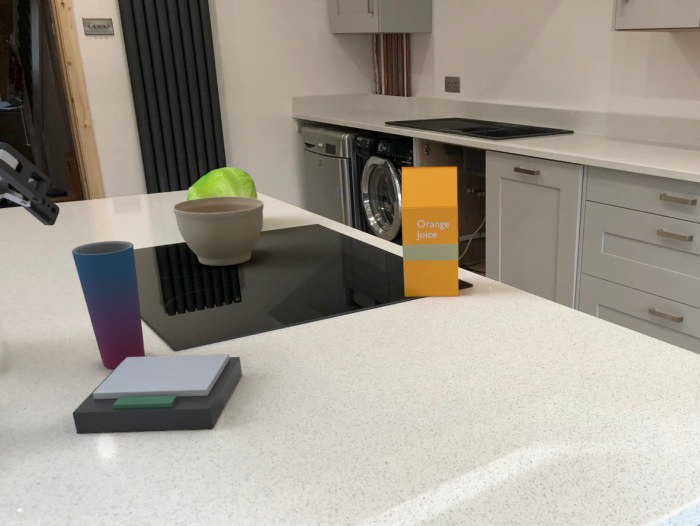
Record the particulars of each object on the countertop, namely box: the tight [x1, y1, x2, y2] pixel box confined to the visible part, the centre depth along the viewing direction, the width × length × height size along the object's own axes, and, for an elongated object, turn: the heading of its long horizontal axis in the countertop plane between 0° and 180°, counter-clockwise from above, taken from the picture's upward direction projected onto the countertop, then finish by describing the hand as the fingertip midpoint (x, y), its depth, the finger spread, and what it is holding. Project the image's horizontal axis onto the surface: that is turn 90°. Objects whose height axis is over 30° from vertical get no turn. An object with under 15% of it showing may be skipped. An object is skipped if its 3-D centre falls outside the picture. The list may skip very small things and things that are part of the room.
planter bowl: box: [172, 196, 265, 267], centre depth 138 cm, size 16×16×11 cm
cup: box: [71, 240, 146, 370], centre depth 91 cm, size 7×7×15 cm
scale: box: [72, 353, 243, 434], centre depth 82 cm, size 14×14×3 cm
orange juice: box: [400, 165, 459, 298], centre depth 118 cm, size 8×9×20 cm
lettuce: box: [186, 166, 258, 201], centre depth 164 cm, size 15×20×14 cm
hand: (17, 217), depth 75 cm, fingers open, 8 cm apart
